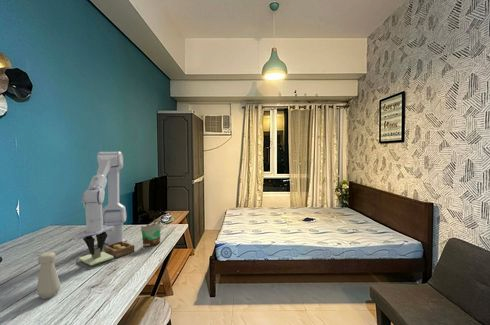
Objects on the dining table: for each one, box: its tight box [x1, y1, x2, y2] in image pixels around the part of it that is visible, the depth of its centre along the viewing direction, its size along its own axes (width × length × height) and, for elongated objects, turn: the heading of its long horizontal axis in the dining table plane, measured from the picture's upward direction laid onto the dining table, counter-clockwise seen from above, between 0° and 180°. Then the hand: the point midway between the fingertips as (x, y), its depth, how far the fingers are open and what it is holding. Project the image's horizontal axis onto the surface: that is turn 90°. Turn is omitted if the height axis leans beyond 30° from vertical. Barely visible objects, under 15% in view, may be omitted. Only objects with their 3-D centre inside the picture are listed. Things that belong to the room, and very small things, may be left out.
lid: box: [78, 246, 115, 265], centre depth 103 cm, size 11×9×4 cm
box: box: [103, 241, 135, 259], centre depth 112 cm, size 10×8×3 cm
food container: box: [140, 219, 163, 248], centre depth 122 cm, size 12×6×10 cm, turn 168°
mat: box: [75, 258, 117, 271], centre depth 103 cm, size 12×10×1 cm
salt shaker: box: [36, 251, 61, 300], centre depth 79 cm, size 6×6×13 cm
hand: (95, 252), depth 103 cm, fingers closed on lid, 2 cm apart
